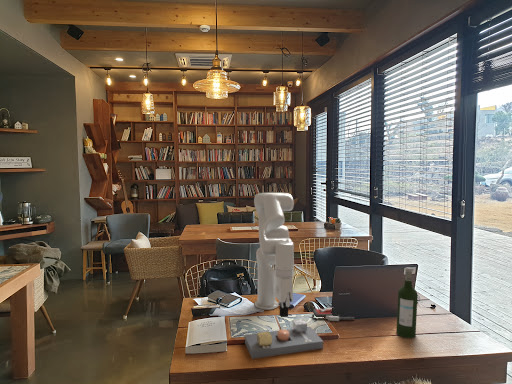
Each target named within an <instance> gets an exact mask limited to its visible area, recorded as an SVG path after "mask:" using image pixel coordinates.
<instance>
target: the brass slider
mask: <svg viewBox="0 0 512 384" xmlns="http://www.w3.org/2000/svg"><path fill="white" fill-rule="evenodd" d="M269 332H270V330H268V331H262V332H256V333H257V342H258V344H259V346H265V345H272V336H271V334H270V333H269Z"/></svg>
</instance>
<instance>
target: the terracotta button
mask: <svg viewBox="0 0 512 384" xmlns="http://www.w3.org/2000/svg"><path fill="white" fill-rule="evenodd" d="M277 331H278V332H277V339H278V340H279V341H283V342H284V341H288V340H289V331H287V329H283V328H282V329H278V330H277Z"/></svg>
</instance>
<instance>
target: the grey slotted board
mask: <svg viewBox="0 0 512 384" xmlns="http://www.w3.org/2000/svg"><path fill="white" fill-rule="evenodd" d="M286 330H287V331H289V340H288V341H284V342H283V341H279V340H278V339H277V332H278V331H279V330H273V331H269V333H270V334H271V336H272V345H265V346H259V344H258V342H257V333H258V332H256V333H251V334H249V333H248V334H244V336H243V337H244V339H245V342H244V344H245V346H246V348H247V351H248V353H249V356H250V357H251V359H252V360H253V359H259V358H260V359H261V358H266V357H267V358H268V357H273V356H274V357H275V356H280V355H288V354H293V353H300V352H306V351H314V350H315V351H316V350H320V349H321V350H322V349H324V340H323V339H322V338H321V337H320V335H318V333H317V332H315V330H314V329H313V328H312V327H311V326H307V331H305V332H297V333H296V332H295V331H294V329H293V328H289V329H286Z"/></svg>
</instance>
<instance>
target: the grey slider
mask: <svg viewBox="0 0 512 384" xmlns="http://www.w3.org/2000/svg"><path fill="white" fill-rule="evenodd" d="M307 327H308V322H307V321H305V319H302V318H301V319H294V320H292V329H294V331H295V332H296V333H297V332H305V331H307Z"/></svg>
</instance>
